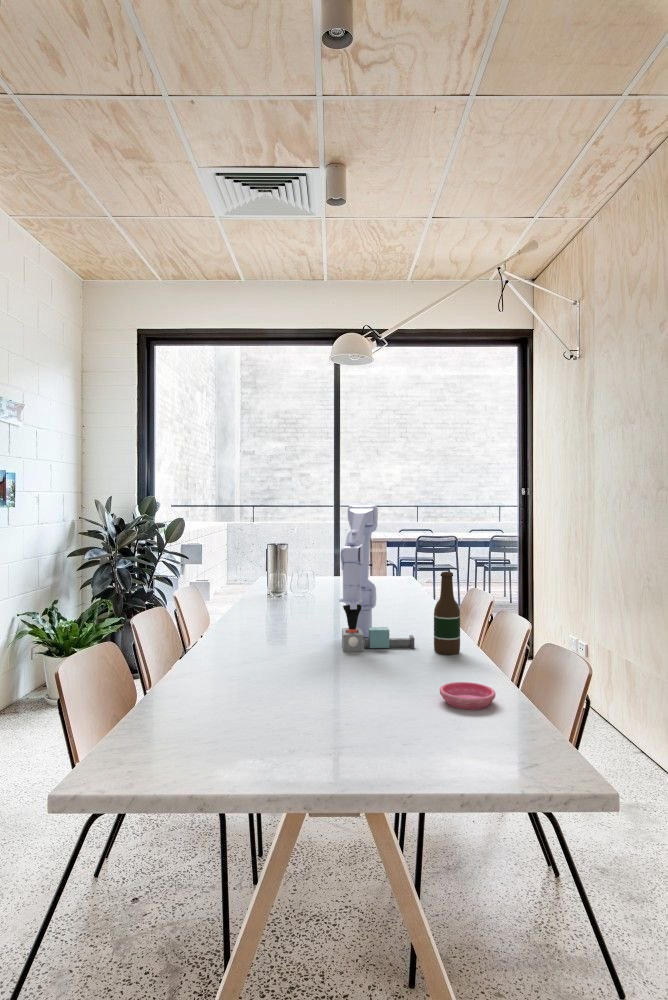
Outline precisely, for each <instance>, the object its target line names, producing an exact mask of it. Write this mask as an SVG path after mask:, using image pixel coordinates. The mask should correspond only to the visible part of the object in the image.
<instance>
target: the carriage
mask: <svg viewBox="0 0 668 1000" xmlns="http://www.w3.org/2000/svg"><path fill="white" fill-rule="evenodd" d="M368 628H369V637H368V639H369V640H370V648H369V649H390V648H389V638H390V628H389V627H387V626H385V627H384V626H383V627H382V626H381V627H373V626H372V627H368Z"/></svg>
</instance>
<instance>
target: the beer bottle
mask: <svg viewBox="0 0 668 1000" xmlns="http://www.w3.org/2000/svg"><path fill="white" fill-rule="evenodd" d="M440 576H441V581H440V595H439V599H438V600H437V602H436V604H435V606H434V610H433V651H434V652H435V653H436V654H438V655H445V656H452V655H453V656H454V655H459V653H460V652H461V610H460V606H459V604H458V602H457V601H456V599H455V596H454V585H453V584H454V583H453V577H454V573H453V572H452V571H442V572H440Z"/></svg>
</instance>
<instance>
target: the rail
mask: <svg viewBox="0 0 668 1000" xmlns="http://www.w3.org/2000/svg"><path fill="white" fill-rule="evenodd" d="M364 648H365V649H371V648H370V640H369V638H364ZM400 648H401V649H402V648H405V649H407V648H408V649H409V648H410V649H415V637H414V635H413V634H409V636H408V637H402V638H401V637H400V638H399V637H398V638H396V637H391V638H390V637H389V648H388V649H400Z"/></svg>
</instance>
